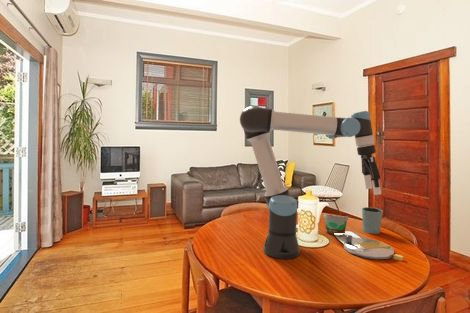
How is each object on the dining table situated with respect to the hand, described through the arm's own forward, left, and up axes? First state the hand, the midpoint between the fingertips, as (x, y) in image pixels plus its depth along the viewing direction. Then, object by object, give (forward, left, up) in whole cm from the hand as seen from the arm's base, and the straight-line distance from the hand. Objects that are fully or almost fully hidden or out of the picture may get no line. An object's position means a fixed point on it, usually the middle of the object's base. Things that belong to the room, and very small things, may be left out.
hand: (373, 191), depth 131 cm
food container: (-19, +3, -26) cm, 32 cm away
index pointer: (+13, -7, -26) cm, 30 cm away
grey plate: (+1, -7, -26) cm, 26 cm away
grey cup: (-8, +23, -26) cm, 36 cm away
